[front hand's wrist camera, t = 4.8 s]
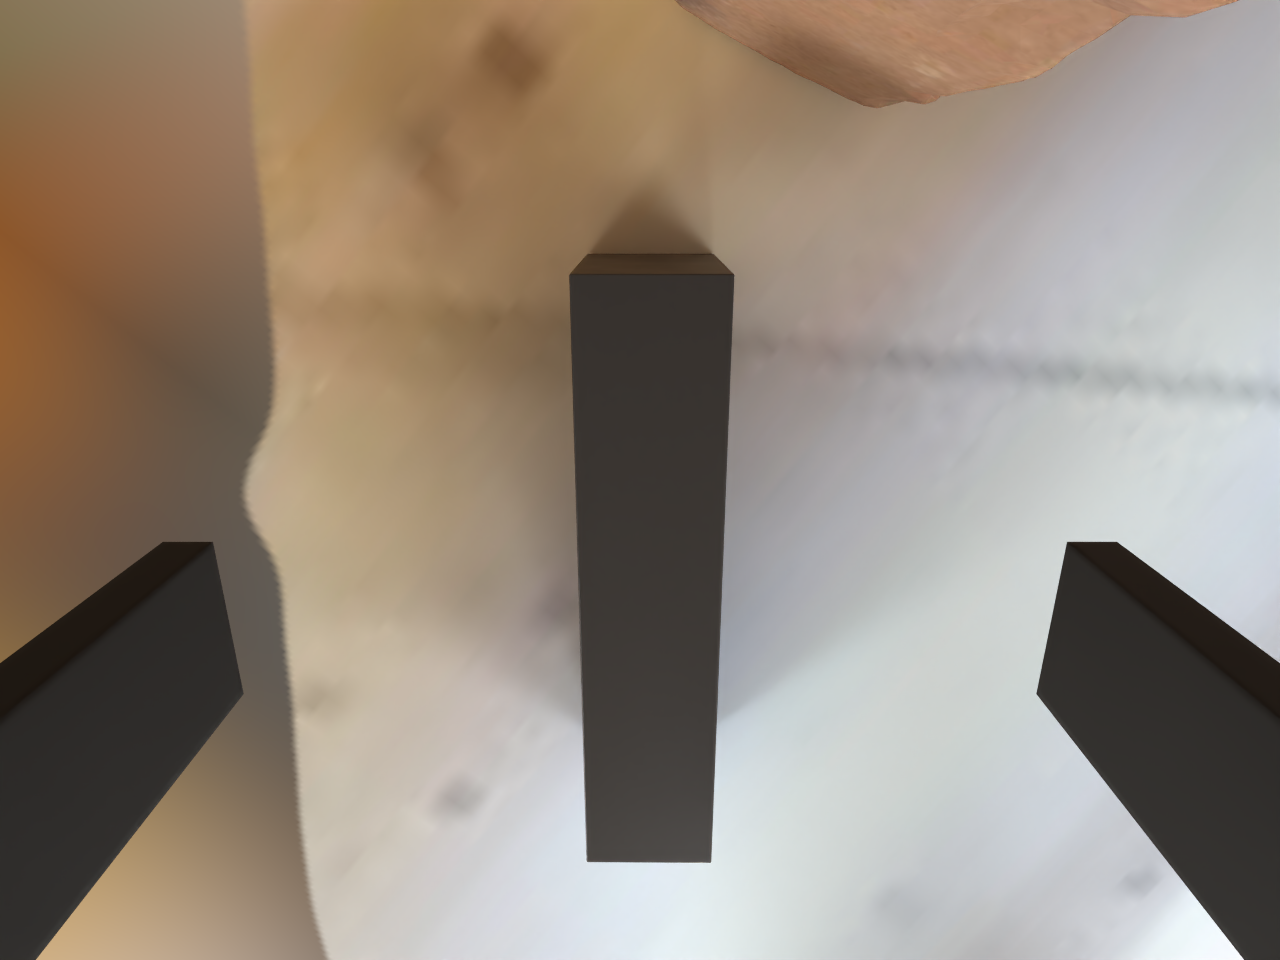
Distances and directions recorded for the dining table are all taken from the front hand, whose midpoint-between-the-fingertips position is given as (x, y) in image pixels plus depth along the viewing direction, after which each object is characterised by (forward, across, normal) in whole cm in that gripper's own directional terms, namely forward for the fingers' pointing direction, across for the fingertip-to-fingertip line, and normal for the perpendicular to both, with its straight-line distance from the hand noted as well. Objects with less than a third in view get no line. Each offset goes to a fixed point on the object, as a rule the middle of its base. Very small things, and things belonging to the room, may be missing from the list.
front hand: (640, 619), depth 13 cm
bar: (+27, 0, -10) cm, 29 cm away
